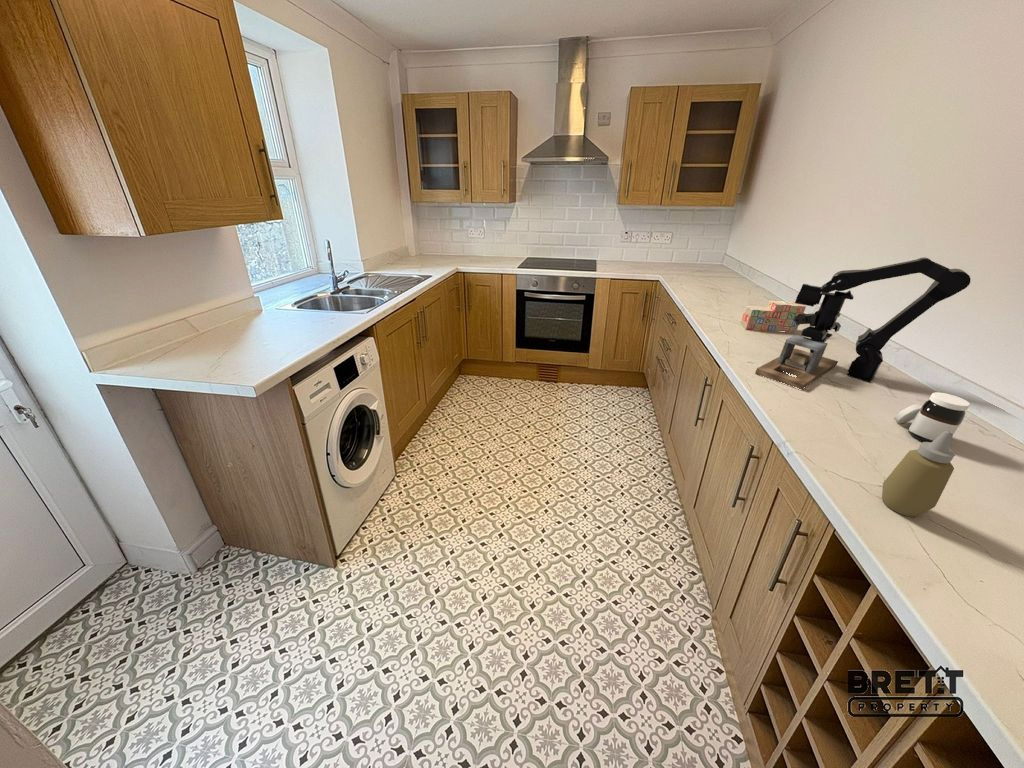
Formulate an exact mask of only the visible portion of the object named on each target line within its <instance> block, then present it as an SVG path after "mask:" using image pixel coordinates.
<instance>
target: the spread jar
mask: <svg viewBox="0 0 1024 768" xmlns="http://www.w3.org/2000/svg"><path fill="white" fill-rule="evenodd" d="M970 406H971V403H970V402H969V401H968V400H966V399H964V398H962V397H959V396H957V395H953V394H951V393H946V392H938V391H937V392H932V393H931V395H930V396H929V399H928V400H926V401H925V402H924V403H923V404H922V403H914V404H913V405H912V404H911V405H910V406H908V407H906V408H904V409H902V410H901V411H899V412H898V413H897V414H896V415H895V416H894V418H893V419H894V420H895V421H894V422H896V423H897V424H899V425H901V424H905V423H908V422H911V421H912V422H911V424H910V426H909V428H908V431H907V432H908V434H909V435H910V436H911V437H912V438H914V439H916V440H917V441H920V442H921V443H922V442H933V441H934V440H935V439H936V438H937V437H938V436H939V435H941V434H942V433H943V432H944V431H949V432H951V433H953V435H954V434H955V433H956V431H957V430H958V428H959V427H960V425H961V424H962V422H963V420H964V418H965V417H966V411H967V410H968V409H969V407H970Z"/></svg>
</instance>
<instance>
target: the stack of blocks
mask: <svg viewBox="0 0 1024 768" xmlns="http://www.w3.org/2000/svg"><path fill="white" fill-rule="evenodd" d="M806 308H807V305H802V304H796V303H795V301H789V300H788V301H787V300H784V301H783V300H769V301H768V303H767V306H758V305H757V306H755V305H753V306H752V305H746V306H745V308H744V311H743V315H742V317H741V321H740V327H742V328H743V330H745V331H746V330H747V331H755V330H756V331H757V332H759V331H760V332H770V331H785V332H796V333H797V331H798V329H799V326H800V325H796V321H794V319H795V316H797V315H798V314H800V313H801V314H803V313H805V311H806Z"/></svg>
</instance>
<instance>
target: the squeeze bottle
mask: <svg viewBox="0 0 1024 768" xmlns="http://www.w3.org/2000/svg"><path fill="white" fill-rule="evenodd" d="M953 436H954V434H953V433H951V432H949V431H944V432H943V433H942V434H941V435H939V436H938V437H937V438H936V439H935V440H934V441H933V442H922V441H921V443H920V445H919V446H918V447H917V449H912V450H909V451H908V452H907V453H906V454H905V456H903V458H902V459H901V461H899V463H898V464H897V465H896V467H894V468H893V470H892V472H891V473H890V474H889V475H888V476H887V477H886V478H885V480H884V481H883V482H882V491H881V499H882V502H883V504H885V506H886V507H888V508H889V509H890V510H892V511H893V512H896V513H898V514H900V515H903V516H906V517H910V518H911V517H912V518H917V517H921V515H923V514H926V512H928V511H931V510H932V509H933V508H935V507H936V505H937V504H938V502H939V500H940V498H941V496H942V494H943V492H944V490H945V488H946V486H947V484H948V482H949V480H950V478H951V475H952V474H953V472H954V470H955V468H954V465H953V464H952V463H951V462H952V460H953V459H954V457H955V455H956V454H955V453H954V451H953V450H951V449H950V446H951V444H952V439H953Z"/></svg>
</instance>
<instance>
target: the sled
mask: <svg viewBox="0 0 1024 768" xmlns="http://www.w3.org/2000/svg"><path fill="white" fill-rule="evenodd" d="M809 353H810V354H808V355H809V356H810V358H809V360H810V359H811V357H812V355H813V353H812V352H810V351H809ZM809 360H808V362H807V364H806V365H803V364H800V363H797V362H794V361H791V357H790V358H788V359H786V361H785V363H784V364H786V365H789V366H792V367H795V368H799V369H802V370H806V369H807V366H808V364H809V362H810V361H809Z"/></svg>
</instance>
